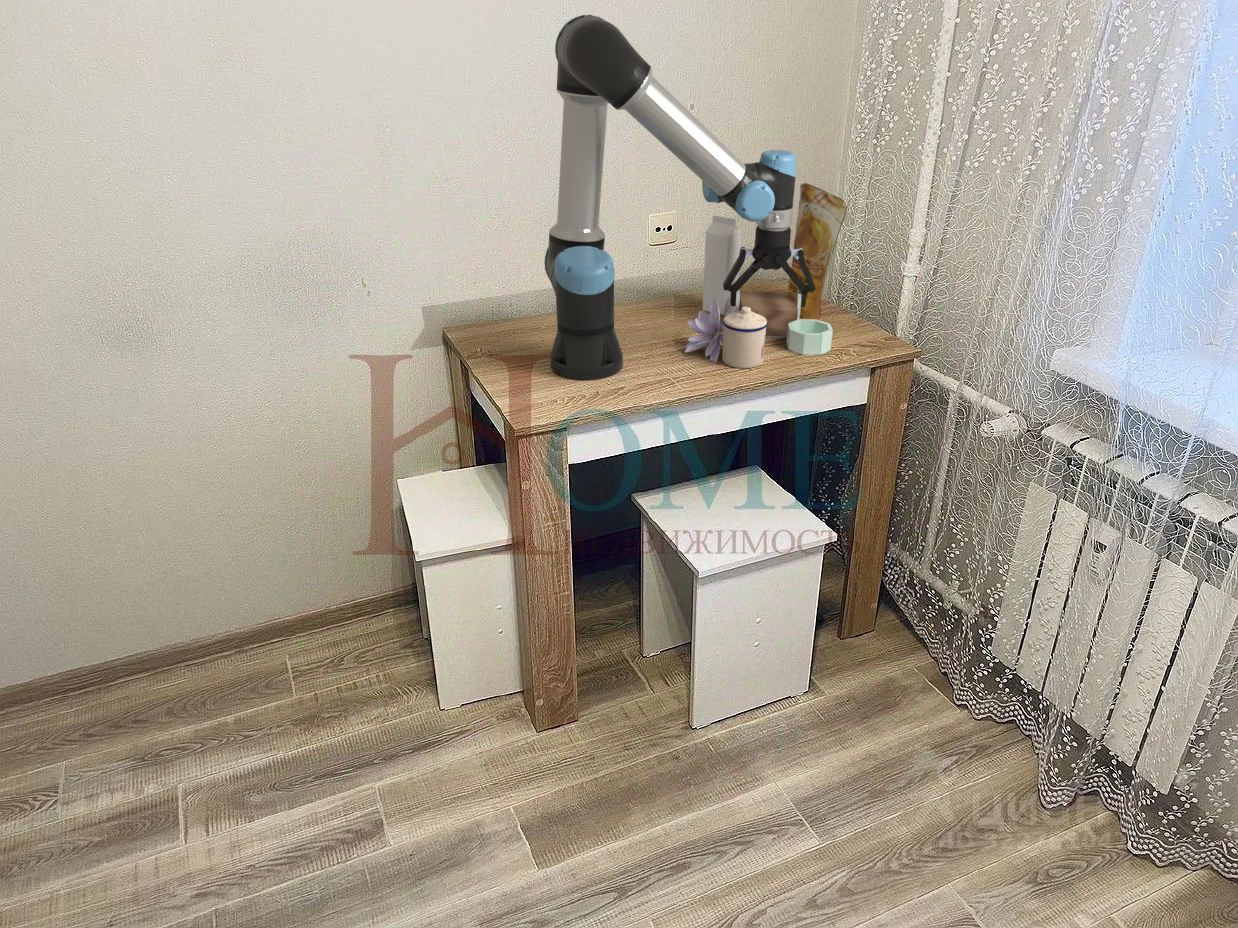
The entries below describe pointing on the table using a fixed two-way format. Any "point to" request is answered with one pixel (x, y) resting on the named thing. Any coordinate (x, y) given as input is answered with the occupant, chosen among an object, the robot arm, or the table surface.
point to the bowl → (809, 336)
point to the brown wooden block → (772, 309)
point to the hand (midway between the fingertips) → (766, 320)
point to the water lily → (708, 332)
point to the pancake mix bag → (816, 242)
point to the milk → (720, 261)
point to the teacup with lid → (744, 339)
